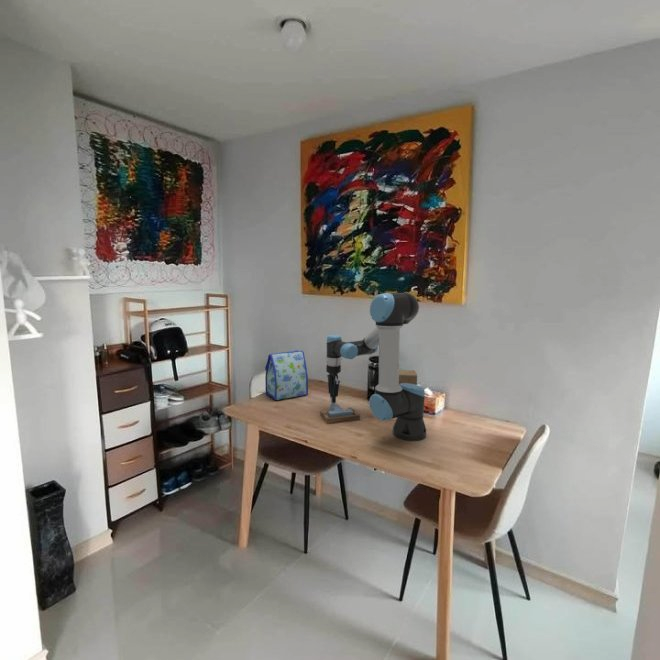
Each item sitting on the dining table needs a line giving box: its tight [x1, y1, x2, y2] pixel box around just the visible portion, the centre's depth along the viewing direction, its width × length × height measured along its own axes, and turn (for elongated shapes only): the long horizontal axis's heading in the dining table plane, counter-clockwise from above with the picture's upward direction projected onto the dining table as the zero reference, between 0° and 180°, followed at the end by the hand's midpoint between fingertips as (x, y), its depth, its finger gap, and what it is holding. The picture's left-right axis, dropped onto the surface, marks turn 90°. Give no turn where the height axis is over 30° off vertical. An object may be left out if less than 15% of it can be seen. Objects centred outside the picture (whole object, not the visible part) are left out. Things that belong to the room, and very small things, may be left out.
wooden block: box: [399, 369, 418, 385], centre depth 209 cm, size 10×10×20 cm
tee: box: [327, 403, 353, 418], centre depth 199 cm, size 12×12×4 cm
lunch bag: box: [264, 349, 309, 401], centre depth 226 cm, size 22×17×26 cm
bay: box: [319, 407, 361, 425], centre depth 195 cm, size 12×17×2 cm
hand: (332, 407), depth 205 cm, fingers closed
